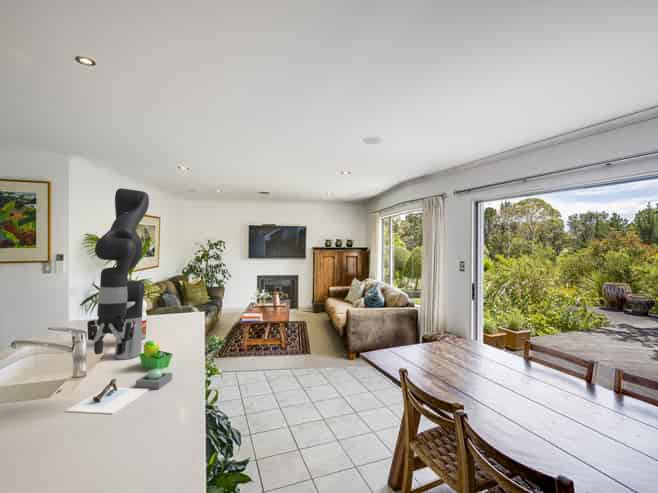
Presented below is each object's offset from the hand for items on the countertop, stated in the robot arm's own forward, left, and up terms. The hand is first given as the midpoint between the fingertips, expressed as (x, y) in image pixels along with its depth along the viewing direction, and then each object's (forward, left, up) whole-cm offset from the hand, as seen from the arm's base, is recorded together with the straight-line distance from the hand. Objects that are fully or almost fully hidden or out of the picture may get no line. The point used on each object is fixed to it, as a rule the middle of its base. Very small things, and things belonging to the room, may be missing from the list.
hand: (109, 353), depth 94 cm
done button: (-11, +8, -12) cm, 18 cm away
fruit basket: (-27, -2, -14) cm, 30 cm away
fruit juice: (-56, -31, -14) cm, 66 cm away
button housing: (-11, +8, -14) cm, 20 cm away
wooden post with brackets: (0, 0, -13) cm, 13 cm away
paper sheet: (+1, +2, -14) cm, 14 cm away
